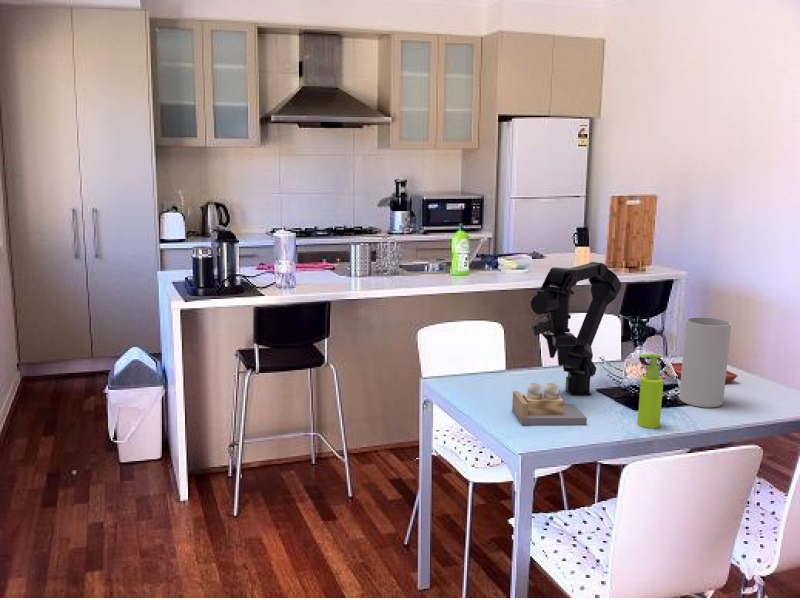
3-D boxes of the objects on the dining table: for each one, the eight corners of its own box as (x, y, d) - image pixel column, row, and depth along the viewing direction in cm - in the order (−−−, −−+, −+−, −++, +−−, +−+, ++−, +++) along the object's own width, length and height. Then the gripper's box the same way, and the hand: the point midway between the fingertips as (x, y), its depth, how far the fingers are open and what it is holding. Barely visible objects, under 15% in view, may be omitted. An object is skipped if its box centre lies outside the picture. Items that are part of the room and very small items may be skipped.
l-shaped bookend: (573, 410, 224) (574, 390, 223) (586, 424, 213) (587, 403, 212) (512, 411, 223) (513, 390, 222) (521, 425, 211) (522, 404, 210)
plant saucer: (660, 371, 270) (661, 362, 270) (707, 370, 273) (708, 361, 273) (687, 386, 253) (688, 377, 252) (738, 385, 256) (739, 375, 255)
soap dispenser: (630, 421, 217) (636, 351, 213) (654, 421, 217) (660, 351, 214) (638, 428, 211) (644, 357, 207) (663, 428, 211) (669, 357, 208)
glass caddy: (556, 407, 221) (558, 382, 219) (562, 414, 215) (564, 388, 213) (522, 407, 220) (523, 382, 218) (527, 414, 214) (528, 388, 213)
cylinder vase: (731, 404, 234) (740, 323, 229) (704, 410, 227) (713, 327, 223) (696, 393, 244) (704, 315, 240) (670, 399, 238) (677, 319, 233)
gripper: (524, 304, 237) (522, 353, 240) (540, 316, 219) (537, 370, 222) (560, 304, 238) (557, 354, 241) (579, 316, 220) (575, 370, 223)
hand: (556, 361), depth 232 cm, fingers open, 9 cm apart
